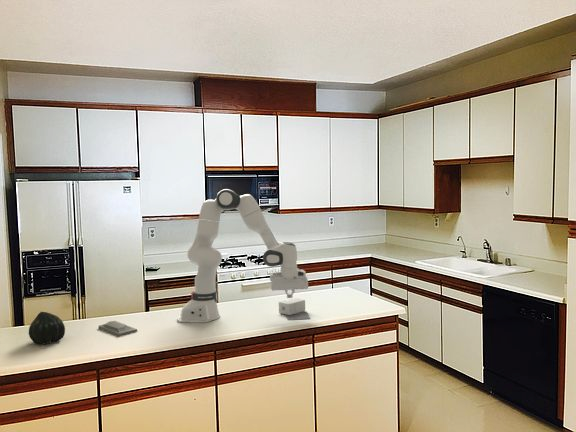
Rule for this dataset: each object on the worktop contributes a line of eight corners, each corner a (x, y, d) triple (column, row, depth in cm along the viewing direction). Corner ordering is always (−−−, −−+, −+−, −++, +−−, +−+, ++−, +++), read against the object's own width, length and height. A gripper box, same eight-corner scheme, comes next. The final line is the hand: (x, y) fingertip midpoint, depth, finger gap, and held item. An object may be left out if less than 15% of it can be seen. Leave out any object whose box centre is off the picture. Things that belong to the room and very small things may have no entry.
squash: (67, 332, 214) (61, 304, 221) (30, 340, 206) (26, 311, 213) (66, 345, 224) (61, 318, 231) (31, 354, 216) (26, 325, 223)
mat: (287, 320, 244) (287, 319, 243) (285, 313, 256) (285, 312, 256) (310, 319, 245) (310, 318, 245) (306, 311, 258) (306, 311, 258)
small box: (288, 315, 250) (305, 311, 258) (288, 303, 249) (305, 299, 258) (278, 313, 255) (295, 308, 264) (278, 301, 255) (295, 297, 264)
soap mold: (118, 338, 223) (118, 331, 223) (97, 329, 236) (97, 323, 235) (137, 332, 231) (137, 325, 230) (116, 324, 244) (116, 318, 243)
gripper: (270, 274, 245) (270, 300, 246) (308, 272, 247) (309, 298, 248) (269, 271, 251) (270, 297, 252) (306, 270, 253) (307, 295, 254)
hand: (289, 297), depth 250 cm, fingers closed
